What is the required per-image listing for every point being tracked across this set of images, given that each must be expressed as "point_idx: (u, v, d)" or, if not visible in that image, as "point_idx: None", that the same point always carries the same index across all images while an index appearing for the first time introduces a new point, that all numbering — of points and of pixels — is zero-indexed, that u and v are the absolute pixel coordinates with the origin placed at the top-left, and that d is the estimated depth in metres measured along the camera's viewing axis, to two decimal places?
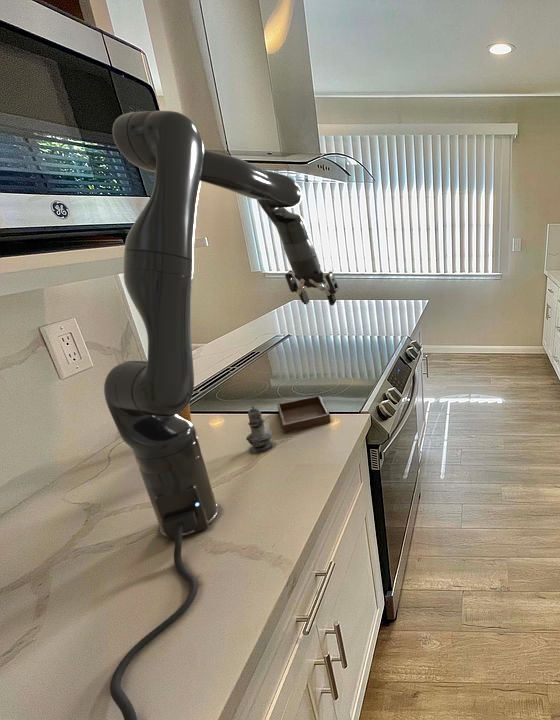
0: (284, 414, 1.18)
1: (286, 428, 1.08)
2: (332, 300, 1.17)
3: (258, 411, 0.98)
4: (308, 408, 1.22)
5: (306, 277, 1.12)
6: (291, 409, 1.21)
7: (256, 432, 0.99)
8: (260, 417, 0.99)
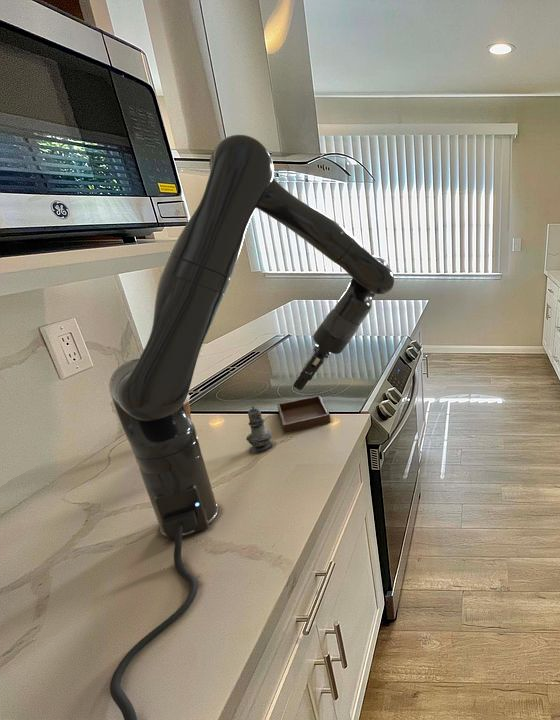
0: (284, 414, 1.18)
1: (286, 428, 1.08)
2: (297, 382, 0.93)
3: (258, 411, 0.98)
4: (308, 408, 1.22)
5: (318, 347, 0.96)
6: (291, 409, 1.21)
7: (256, 432, 0.99)
8: (260, 417, 0.99)
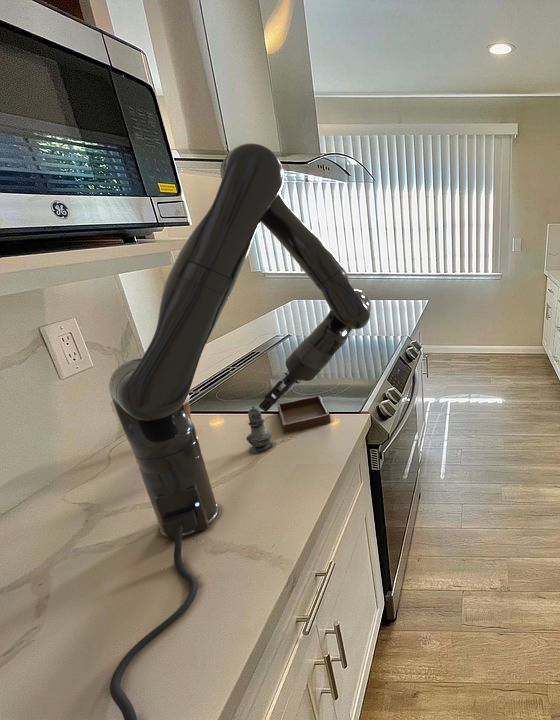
0: (284, 414, 1.18)
1: (286, 428, 1.08)
2: (263, 403, 0.93)
3: (258, 411, 0.98)
4: (308, 408, 1.22)
5: None
6: (291, 409, 1.21)
7: (256, 432, 0.99)
8: (260, 417, 0.99)
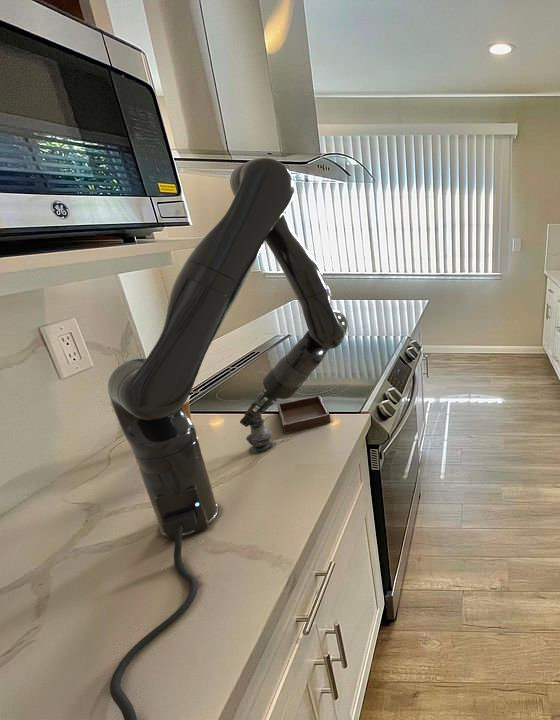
0: (284, 414, 1.18)
1: (286, 428, 1.08)
2: (243, 419, 0.97)
3: None
4: (308, 408, 1.22)
5: None
6: (291, 409, 1.21)
7: (256, 432, 0.99)
8: (260, 417, 0.99)
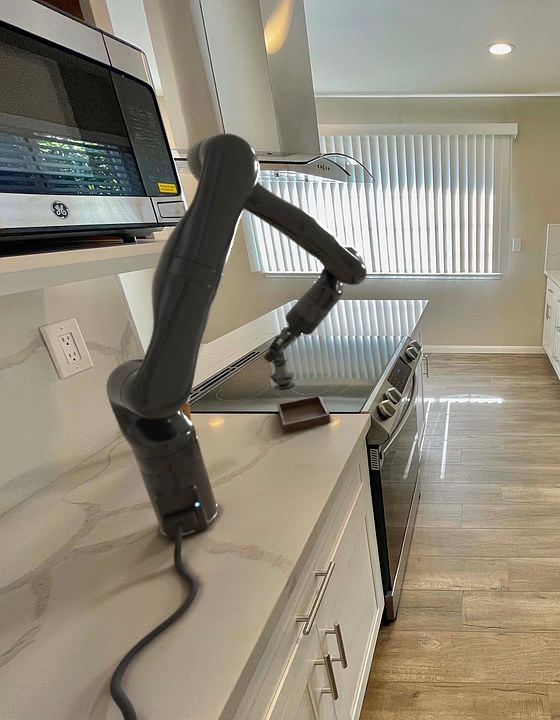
0: (284, 414, 1.18)
1: (286, 428, 1.08)
2: (267, 354, 1.02)
3: None
4: (308, 408, 1.22)
5: None
6: (291, 409, 1.21)
7: (280, 370, 1.05)
8: (283, 356, 1.05)
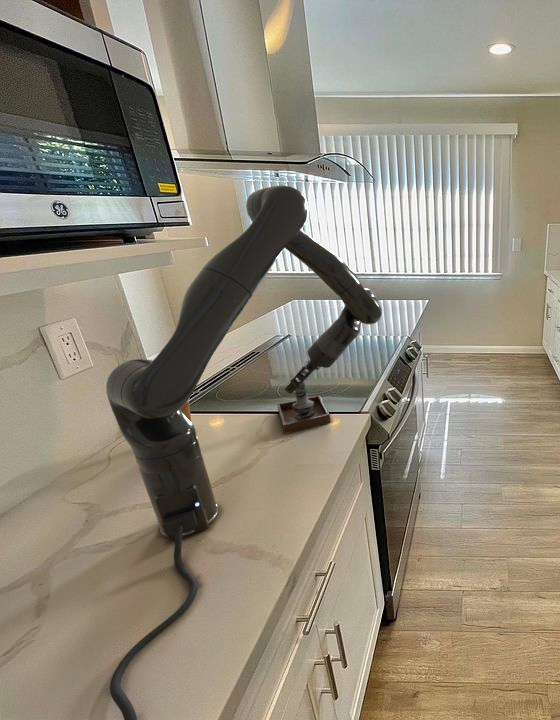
0: (284, 414, 1.18)
1: (286, 428, 1.08)
2: (288, 386, 1.09)
3: (303, 382, 1.14)
4: None
5: None
6: (291, 409, 1.21)
7: (301, 400, 1.14)
8: (304, 388, 1.14)
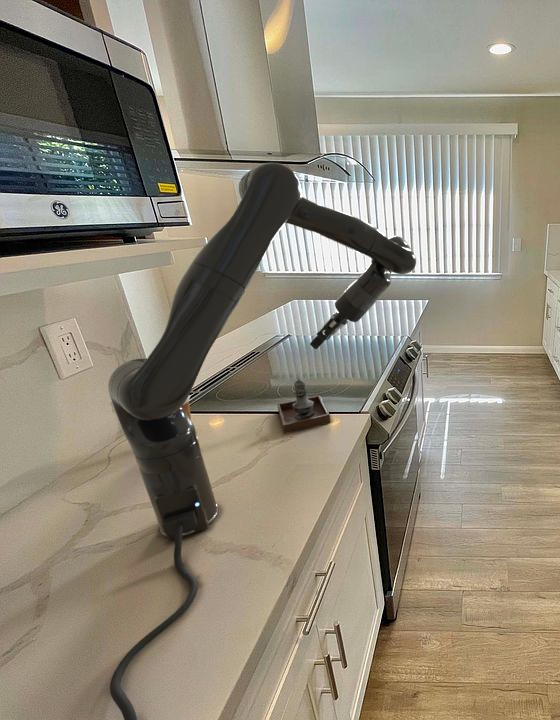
0: (284, 414, 1.18)
1: (286, 428, 1.08)
2: (314, 341, 1.02)
3: (303, 382, 1.14)
4: None
5: None
6: (291, 409, 1.21)
7: (301, 400, 1.14)
8: (304, 388, 1.14)
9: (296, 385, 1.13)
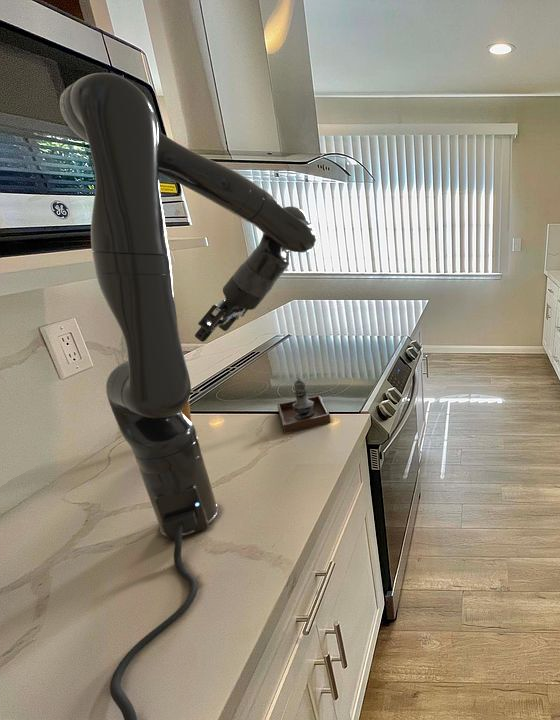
0: (284, 414, 1.18)
1: (286, 428, 1.08)
2: (199, 332, 0.87)
3: (303, 382, 1.14)
4: None
5: None
6: (291, 409, 1.21)
7: (301, 400, 1.14)
8: (304, 388, 1.14)
9: (296, 385, 1.13)
